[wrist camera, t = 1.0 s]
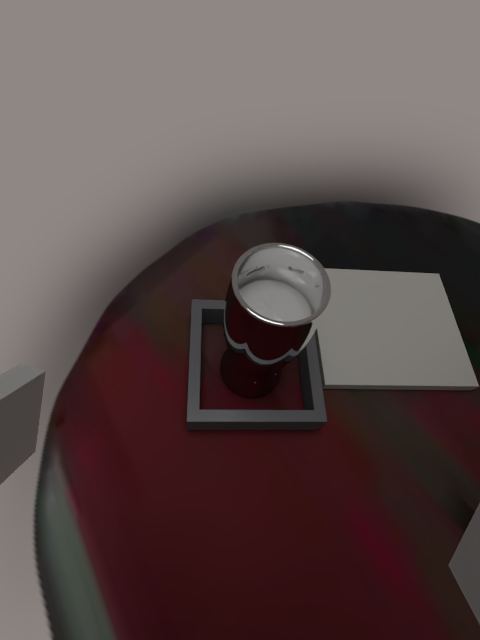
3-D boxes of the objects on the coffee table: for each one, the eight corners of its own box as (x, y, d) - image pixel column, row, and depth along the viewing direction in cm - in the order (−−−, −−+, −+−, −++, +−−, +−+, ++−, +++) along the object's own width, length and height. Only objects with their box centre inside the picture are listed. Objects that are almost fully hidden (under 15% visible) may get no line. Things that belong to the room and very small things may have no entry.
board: (433, 279, 45) (438, 273, 44) (471, 390, 39) (478, 386, 38) (305, 274, 44) (308, 267, 43) (321, 388, 37) (325, 384, 36)
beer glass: (200, 365, 37) (205, 275, 24) (250, 325, 40) (279, 224, 27) (250, 418, 35) (285, 350, 22) (299, 371, 38) (355, 287, 25)
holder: (302, 318, 41) (310, 303, 38) (317, 429, 35) (327, 421, 32) (191, 314, 39) (191, 299, 37) (187, 430, 33) (186, 421, 31)
